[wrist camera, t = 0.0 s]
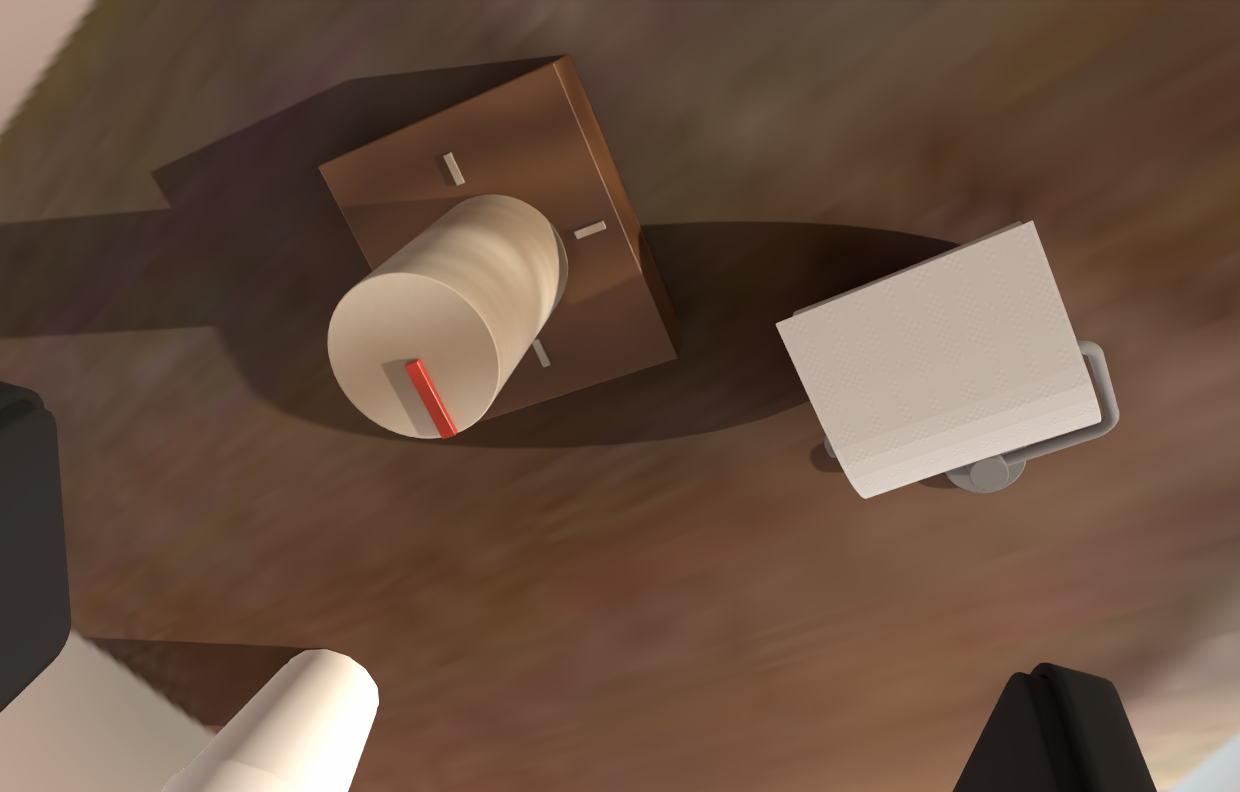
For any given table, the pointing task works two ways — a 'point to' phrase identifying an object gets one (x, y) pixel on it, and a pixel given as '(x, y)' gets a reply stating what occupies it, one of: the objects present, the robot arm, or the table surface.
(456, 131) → the brown square plate
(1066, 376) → the toilet paper holder
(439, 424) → the rotary dial knob
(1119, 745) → the robot arm
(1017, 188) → the table surface
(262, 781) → the foam cup
